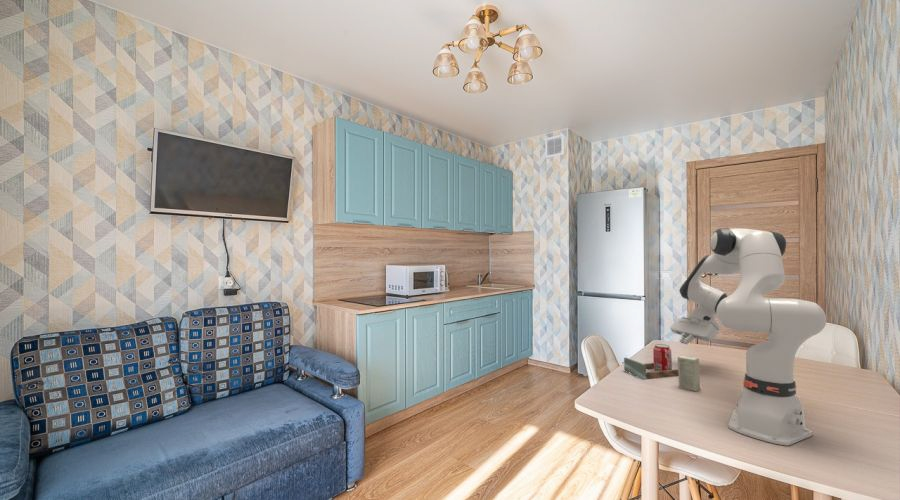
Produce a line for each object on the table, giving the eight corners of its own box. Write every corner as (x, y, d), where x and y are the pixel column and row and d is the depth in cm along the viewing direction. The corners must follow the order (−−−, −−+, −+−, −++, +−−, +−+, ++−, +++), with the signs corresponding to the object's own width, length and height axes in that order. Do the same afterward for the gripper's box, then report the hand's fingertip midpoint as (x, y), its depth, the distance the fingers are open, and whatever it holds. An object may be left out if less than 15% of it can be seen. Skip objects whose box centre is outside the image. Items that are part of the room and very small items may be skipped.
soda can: (672, 371, 165) (671, 344, 166) (671, 375, 159) (671, 348, 160) (654, 368, 169) (653, 342, 169) (653, 373, 163) (652, 346, 163)
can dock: (657, 367, 171) (657, 354, 171) (679, 375, 159) (679, 361, 159) (624, 370, 166) (624, 357, 167) (644, 379, 155) (643, 365, 155)
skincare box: (700, 389, 143) (699, 358, 143) (695, 391, 140) (695, 360, 140) (682, 384, 148) (682, 354, 148) (677, 387, 145) (677, 356, 146)
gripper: (677, 312, 179) (660, 333, 177) (716, 319, 159) (698, 343, 157) (684, 321, 180) (668, 342, 178) (724, 328, 160) (707, 353, 158)
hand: (683, 342), depth 167 cm, fingers closed
